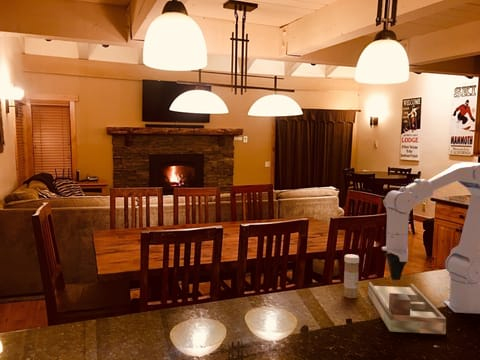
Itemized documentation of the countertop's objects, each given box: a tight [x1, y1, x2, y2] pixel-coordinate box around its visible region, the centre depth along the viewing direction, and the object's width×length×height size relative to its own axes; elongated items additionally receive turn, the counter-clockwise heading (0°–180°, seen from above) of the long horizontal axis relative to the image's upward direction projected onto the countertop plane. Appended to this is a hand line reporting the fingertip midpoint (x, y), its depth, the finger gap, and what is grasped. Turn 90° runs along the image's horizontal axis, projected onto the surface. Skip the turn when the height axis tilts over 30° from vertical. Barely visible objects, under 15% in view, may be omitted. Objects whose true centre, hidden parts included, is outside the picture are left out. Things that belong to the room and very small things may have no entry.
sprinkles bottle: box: [343, 253, 360, 299], centre depth 127 cm, size 5×5×13 cm
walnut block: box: [389, 293, 411, 316], centre depth 108 cm, size 4×4×4 cm
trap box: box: [367, 281, 447, 335], centre depth 116 cm, size 14×26×4 cm, turn 174°
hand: (395, 279), depth 114 cm, fingers closed
